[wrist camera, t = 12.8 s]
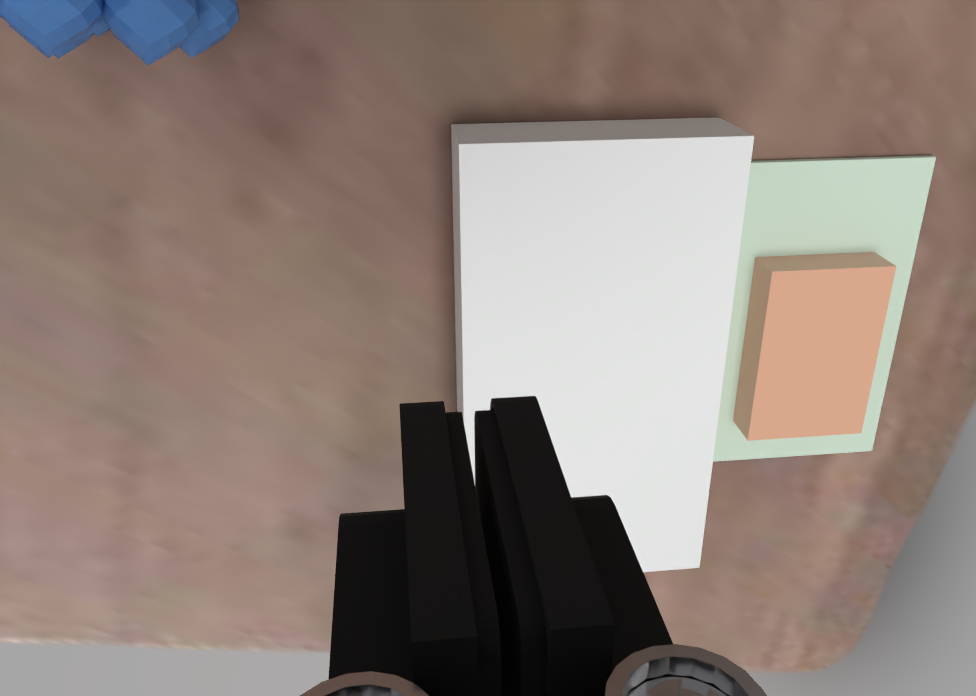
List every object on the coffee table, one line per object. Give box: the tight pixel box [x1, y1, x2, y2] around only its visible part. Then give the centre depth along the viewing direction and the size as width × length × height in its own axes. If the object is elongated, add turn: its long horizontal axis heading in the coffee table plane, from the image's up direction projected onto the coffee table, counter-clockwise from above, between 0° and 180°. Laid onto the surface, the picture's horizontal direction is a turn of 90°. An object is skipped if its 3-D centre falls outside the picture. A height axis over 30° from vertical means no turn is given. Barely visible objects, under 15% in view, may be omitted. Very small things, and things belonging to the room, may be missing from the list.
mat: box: [713, 155, 936, 462], centre depth 43 cm, size 16×10×1 cm, turn 0°
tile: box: [733, 252, 896, 441], centre depth 43 cm, size 9×6×2 cm, turn 0°
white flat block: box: [451, 117, 754, 572], centre depth 41 cm, size 22×12×4 cm, turn 0°
